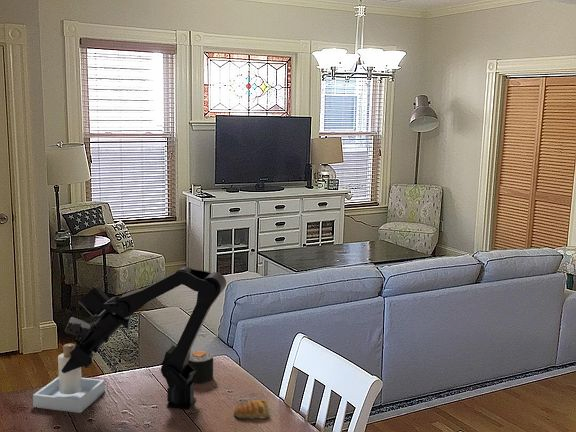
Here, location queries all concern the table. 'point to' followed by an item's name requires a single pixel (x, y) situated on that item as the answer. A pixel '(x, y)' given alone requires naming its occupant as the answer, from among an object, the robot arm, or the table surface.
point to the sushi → (202, 366)
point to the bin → (69, 396)
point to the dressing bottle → (68, 373)
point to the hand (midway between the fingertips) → (64, 367)
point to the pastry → (252, 409)
